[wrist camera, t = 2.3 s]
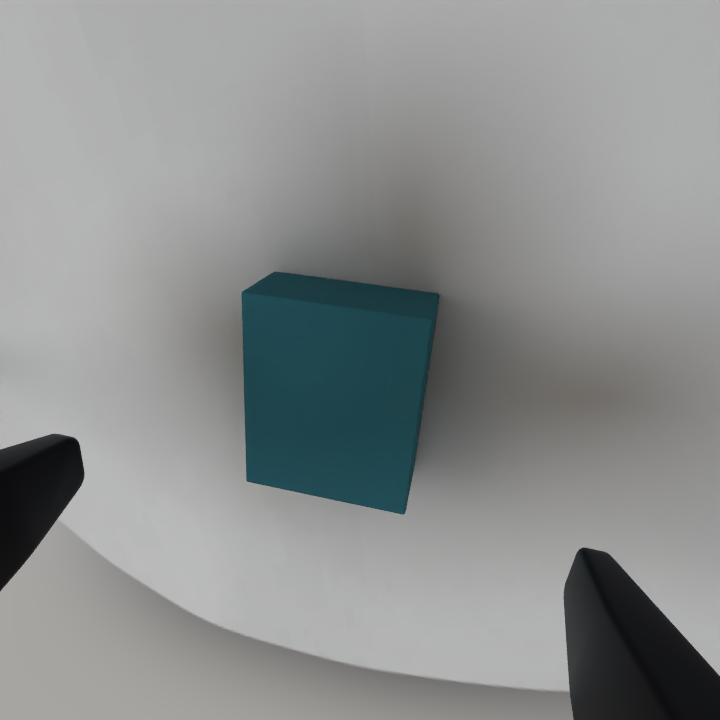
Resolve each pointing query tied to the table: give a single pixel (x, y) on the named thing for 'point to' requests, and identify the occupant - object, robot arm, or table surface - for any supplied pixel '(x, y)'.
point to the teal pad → (335, 386)
